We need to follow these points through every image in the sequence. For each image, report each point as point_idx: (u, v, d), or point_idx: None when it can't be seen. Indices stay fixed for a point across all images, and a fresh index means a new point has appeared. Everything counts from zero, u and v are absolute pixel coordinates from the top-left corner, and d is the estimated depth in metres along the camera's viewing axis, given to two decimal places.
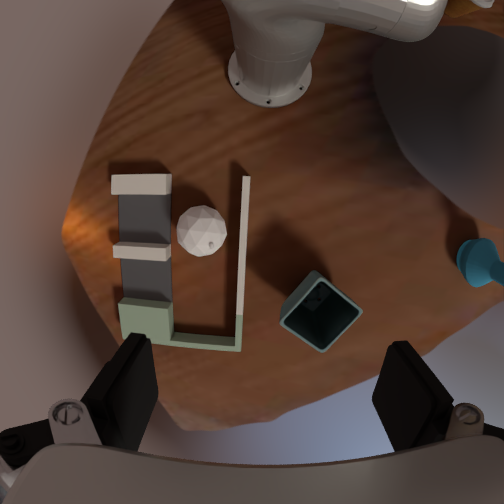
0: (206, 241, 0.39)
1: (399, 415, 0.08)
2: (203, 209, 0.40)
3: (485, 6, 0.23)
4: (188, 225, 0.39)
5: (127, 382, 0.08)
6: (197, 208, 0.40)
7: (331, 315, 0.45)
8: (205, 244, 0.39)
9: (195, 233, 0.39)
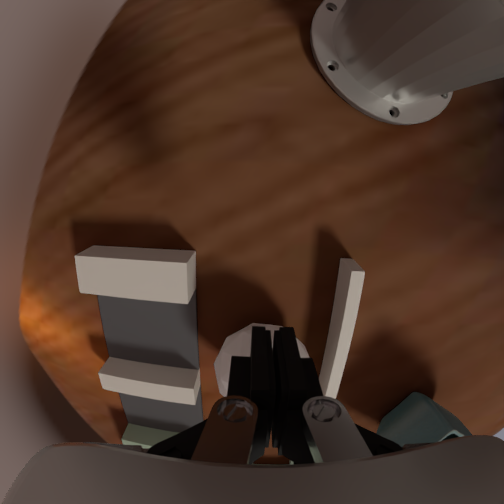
0: None
1: None
2: None
3: None
4: None
5: None
6: None
7: None
8: None
9: None
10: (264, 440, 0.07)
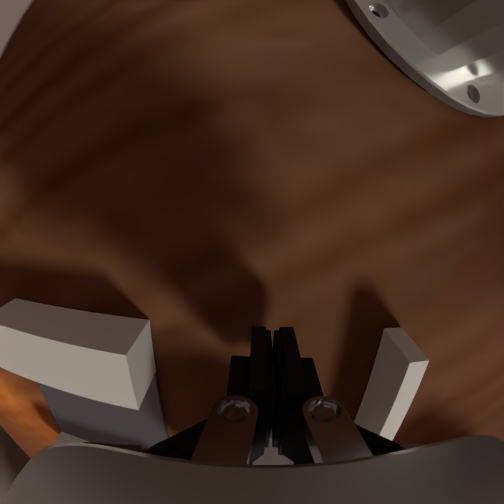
0: None
1: None
2: None
3: None
4: None
5: None
6: None
7: None
8: None
9: None
10: (264, 440, 0.07)
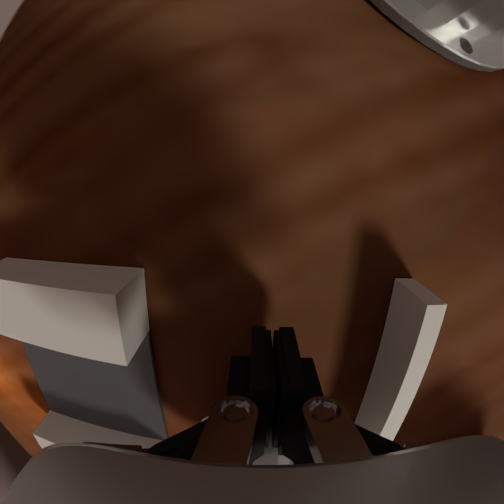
0: None
1: None
2: None
3: None
4: None
5: None
6: None
7: None
8: None
9: None
10: (264, 440, 0.07)
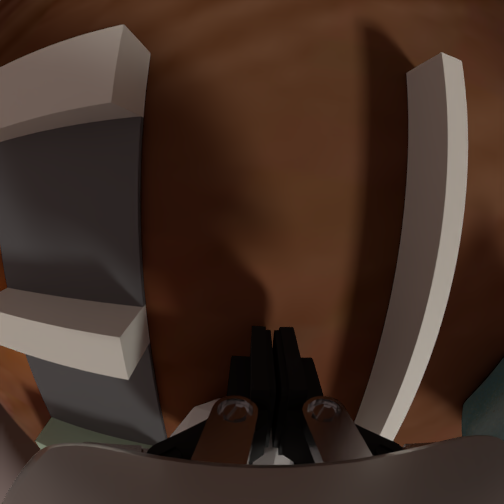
0: None
1: None
2: None
3: None
4: None
5: None
6: None
7: None
8: None
9: None
10: (264, 440, 0.07)
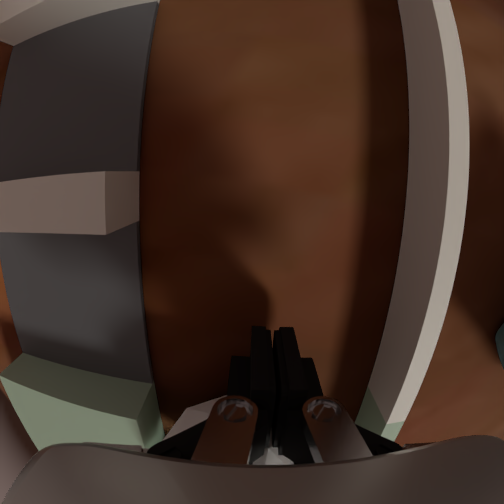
0: None
1: None
2: (273, 453, 0.09)
3: None
4: None
5: None
6: None
7: None
8: None
9: None
10: (264, 440, 0.07)
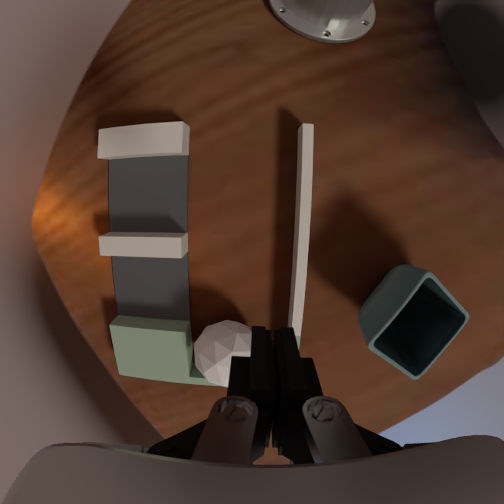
0: None
1: None
2: (238, 335, 0.28)
3: None
4: (215, 356, 0.27)
5: None
6: (229, 331, 0.28)
7: (418, 326, 0.29)
8: None
9: (224, 369, 0.27)
10: (264, 440, 0.07)
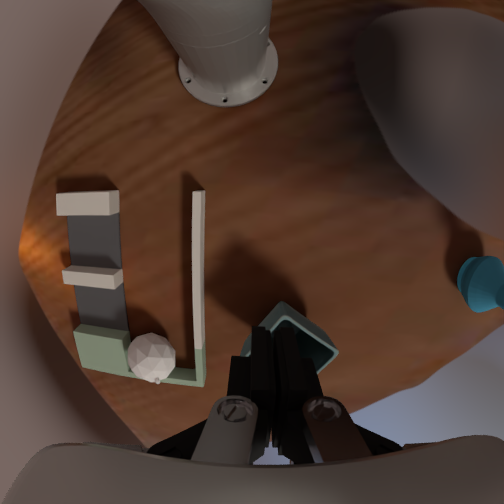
0: (152, 376, 0.36)
1: None
2: (153, 345, 0.37)
3: None
4: (137, 359, 0.36)
5: None
6: (148, 341, 0.37)
7: (304, 351, 0.38)
8: (151, 378, 0.36)
9: (142, 369, 0.36)
10: (264, 440, 0.07)
